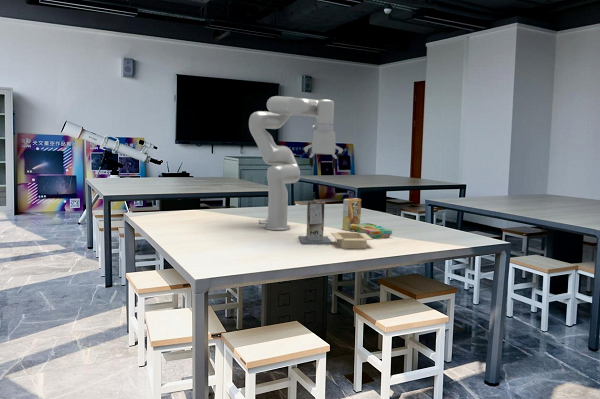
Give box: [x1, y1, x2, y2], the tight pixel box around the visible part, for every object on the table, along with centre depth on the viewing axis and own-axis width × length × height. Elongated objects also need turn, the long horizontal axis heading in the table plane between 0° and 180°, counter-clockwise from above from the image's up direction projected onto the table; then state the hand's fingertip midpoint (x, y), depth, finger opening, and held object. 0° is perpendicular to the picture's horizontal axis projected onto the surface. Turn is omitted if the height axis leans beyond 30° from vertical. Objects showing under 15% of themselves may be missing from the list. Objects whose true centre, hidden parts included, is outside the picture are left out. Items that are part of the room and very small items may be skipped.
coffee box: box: [306, 200, 325, 241], centre depth 216 cm, size 9×6×16 cm
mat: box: [298, 235, 333, 245], centre depth 217 cm, size 13×13×1 cm
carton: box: [330, 231, 374, 249], centre depth 211 cm, size 15×18×4 cm
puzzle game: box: [349, 222, 393, 239], centre depth 237 cm, size 12×5×20 cm
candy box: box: [341, 197, 362, 231], centre depth 249 cm, size 9×4×15 cm, turn 129°
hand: (322, 167), depth 221 cm, fingers open, 9 cm apart
